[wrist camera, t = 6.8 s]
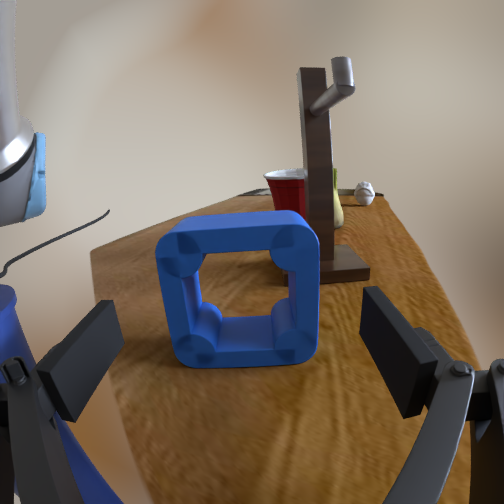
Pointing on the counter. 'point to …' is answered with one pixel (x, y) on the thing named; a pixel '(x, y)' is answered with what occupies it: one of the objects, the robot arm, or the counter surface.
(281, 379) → the counter surface
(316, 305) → the blue rounded square frame
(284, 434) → the counter surface
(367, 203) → the white lumpy ball
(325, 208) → the hook stand
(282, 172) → the plastic cup
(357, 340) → the counter surface
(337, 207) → the fennel bulb
